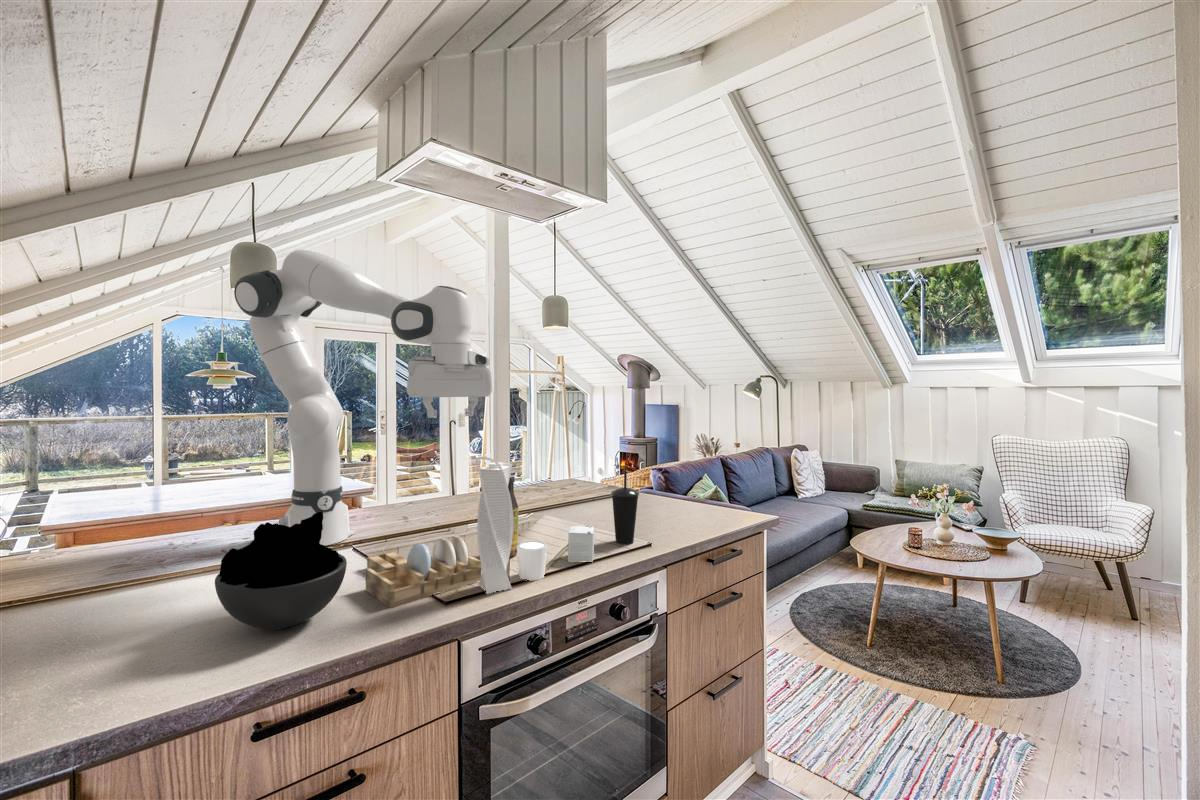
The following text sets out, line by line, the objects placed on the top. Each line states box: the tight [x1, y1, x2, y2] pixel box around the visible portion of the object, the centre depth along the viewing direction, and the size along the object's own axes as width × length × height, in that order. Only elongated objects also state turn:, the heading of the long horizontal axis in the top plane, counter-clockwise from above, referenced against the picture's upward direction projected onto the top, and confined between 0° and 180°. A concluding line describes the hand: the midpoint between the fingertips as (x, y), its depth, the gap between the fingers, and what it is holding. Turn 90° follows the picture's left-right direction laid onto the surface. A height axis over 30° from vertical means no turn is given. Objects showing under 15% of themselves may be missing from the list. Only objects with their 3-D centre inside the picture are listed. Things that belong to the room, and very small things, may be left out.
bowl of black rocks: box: [214, 511, 348, 630], centre depth 94 cm, size 20×20×19 cm
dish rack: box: [365, 535, 482, 609], centre depth 113 cm, size 12×20×9 cm, turn 135°
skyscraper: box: [475, 456, 513, 595], centre depth 112 cm, size 8×8×28 cm
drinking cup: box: [610, 468, 640, 545], centre depth 145 cm, size 8×8×20 cm
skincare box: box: [567, 525, 595, 563], centre depth 131 cm, size 6×6×7 cm
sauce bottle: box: [508, 474, 519, 558], centre depth 133 cm, size 7×6×20 cm
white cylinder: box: [516, 540, 548, 582], centre depth 119 cm, size 7×7×7 cm
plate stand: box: [366, 551, 407, 573], centre depth 120 cm, size 11×6×3 cm, turn 45°
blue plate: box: [406, 543, 432, 581], centre depth 112 cm, size 8×1×8 cm, turn 43°
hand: (451, 416), depth 123 cm, fingers open, 8 cm apart
